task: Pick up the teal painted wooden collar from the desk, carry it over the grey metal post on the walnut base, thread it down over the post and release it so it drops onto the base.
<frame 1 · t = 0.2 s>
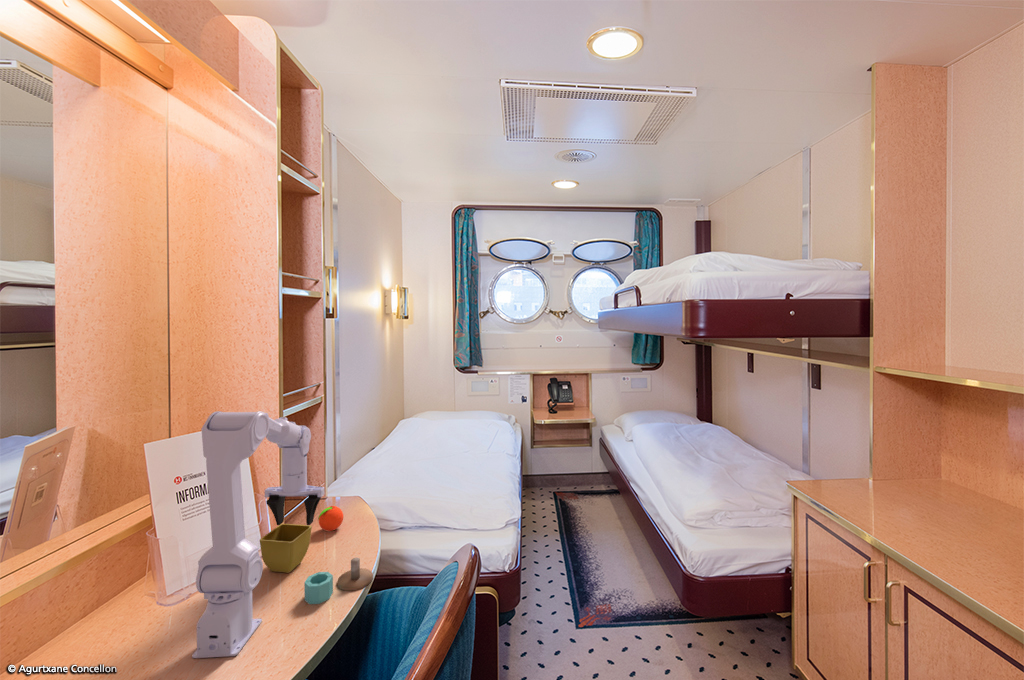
hand: (295, 523, 109), 10 cm above the table, fingers open, 7 cm apart
clementine: (329, 531, 126), on the table
collar: (318, 596, 95), on the table
post: (355, 580, 101), on the table
flower pot: (286, 567, 106), on the table
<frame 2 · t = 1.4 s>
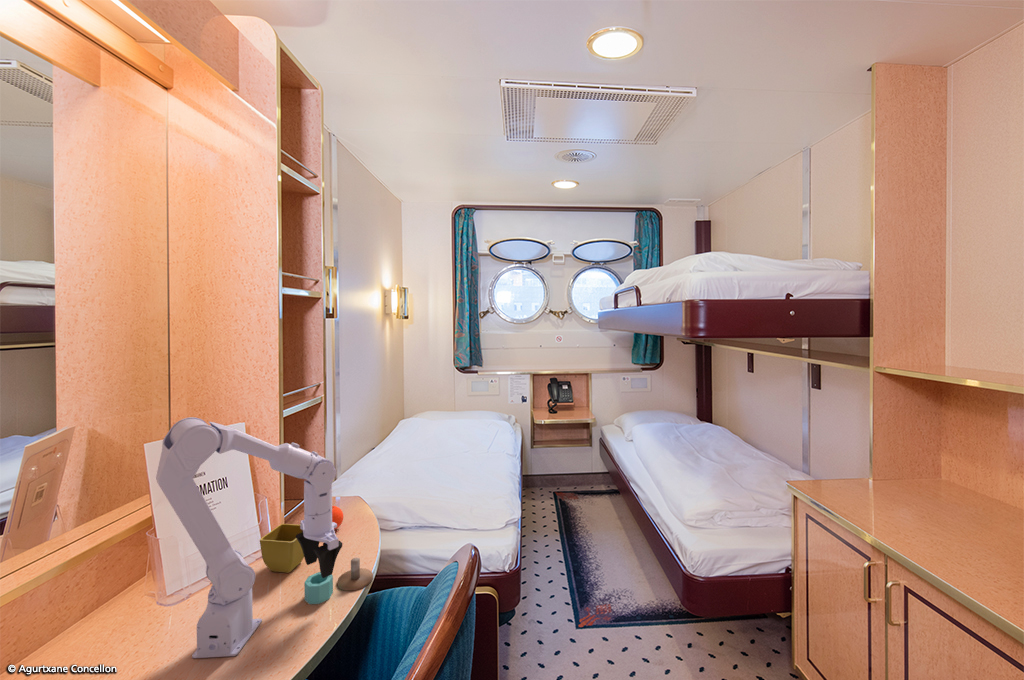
hand: (319, 569, 95), 6 cm above the table, fingers open, 7 cm apart
nothing on the table moved.
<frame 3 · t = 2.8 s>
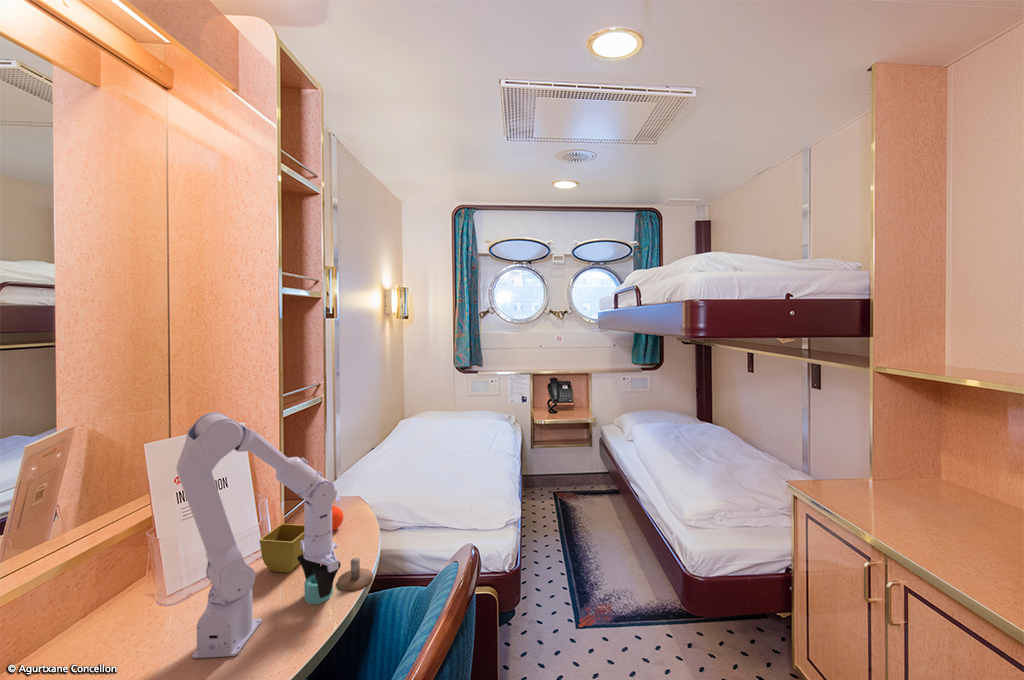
hand: (318, 590, 95), 1 cm above the table, fingers closed on collar, 5 cm apart
collar: (318, 596, 95), on the table, touching gripper
everything else where it was.
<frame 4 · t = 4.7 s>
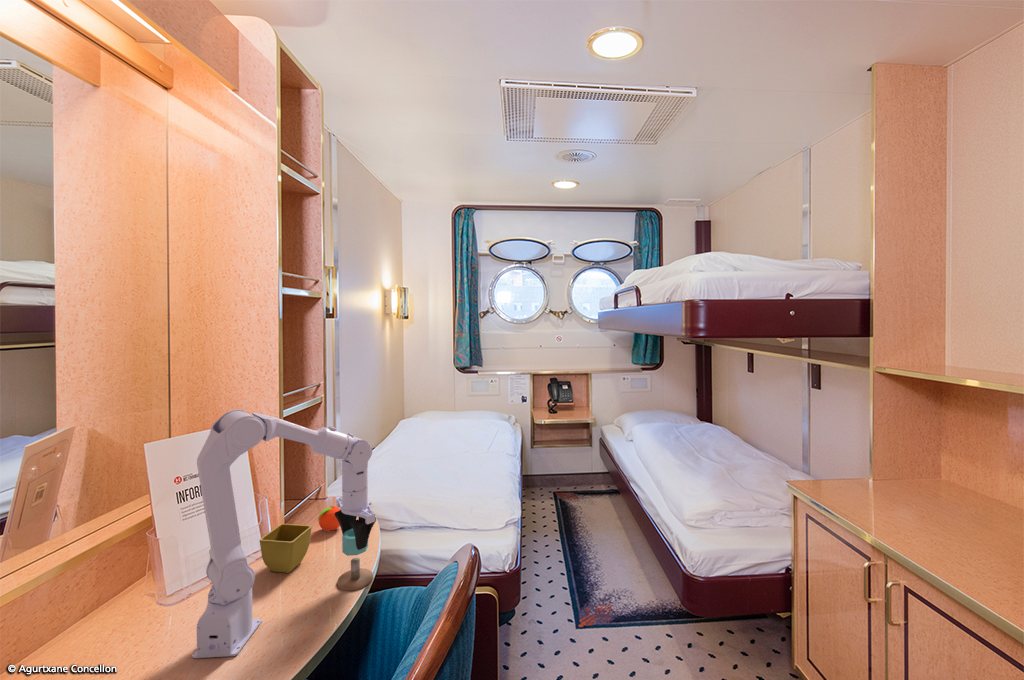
hand: (355, 543, 101), 9 cm above the table, fingers closed on collar, 5 cm apart
collar: (355, 549, 101), point 8 cm above the table, touching gripper
everything else where it was.
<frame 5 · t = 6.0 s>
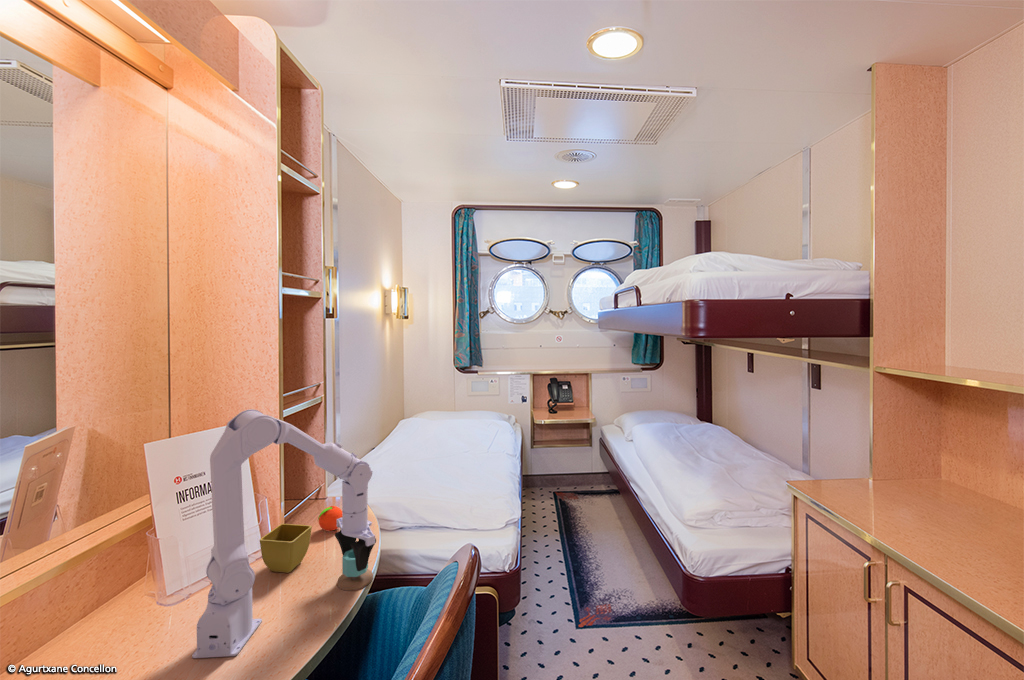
hand: (355, 564, 101), 4 cm above the table, fingers closed on collar, 5 cm apart
collar: (355, 570, 101), point 2 cm above the table, touching gripper
everything else where it was.
when the fingers open (4 cm above the table, at t = 6.7 s): collar drops 2 cm, resting on post.
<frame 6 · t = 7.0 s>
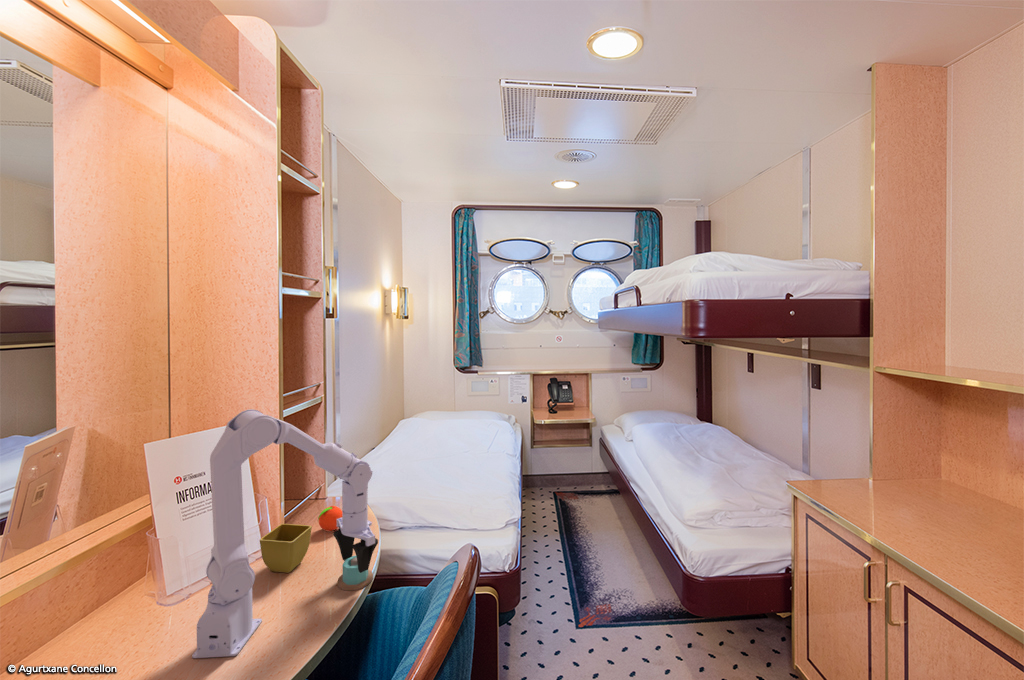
hand: (355, 564, 101), 4 cm above the table, fingers open, 7 cm apart
collar: (355, 577, 101), point 1 cm above the table, touching post
everything else where it was.
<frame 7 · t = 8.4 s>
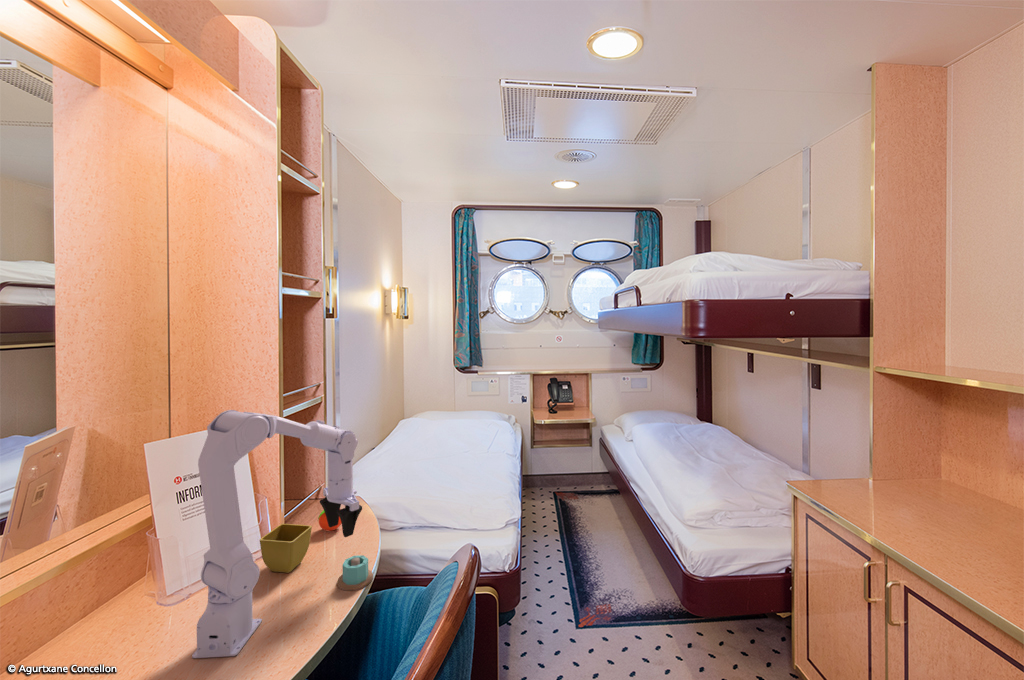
hand: (340, 530, 105), 10 cm above the table, fingers open, 7 cm apart
nothing on the table moved.
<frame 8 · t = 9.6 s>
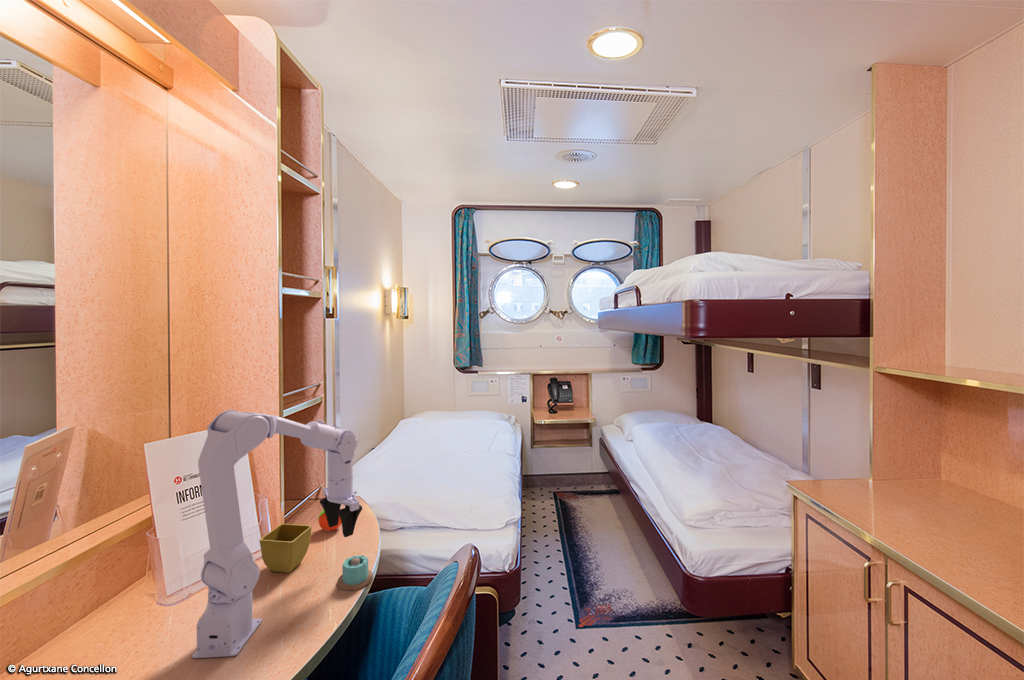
hand: (340, 530, 105), 10 cm above the table, fingers open, 7 cm apart
nothing on the table moved.
at the end: collar 0.0 cm off-centre on the post, point 0.6 cm above the post's base; the gripper is holding nothing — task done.
